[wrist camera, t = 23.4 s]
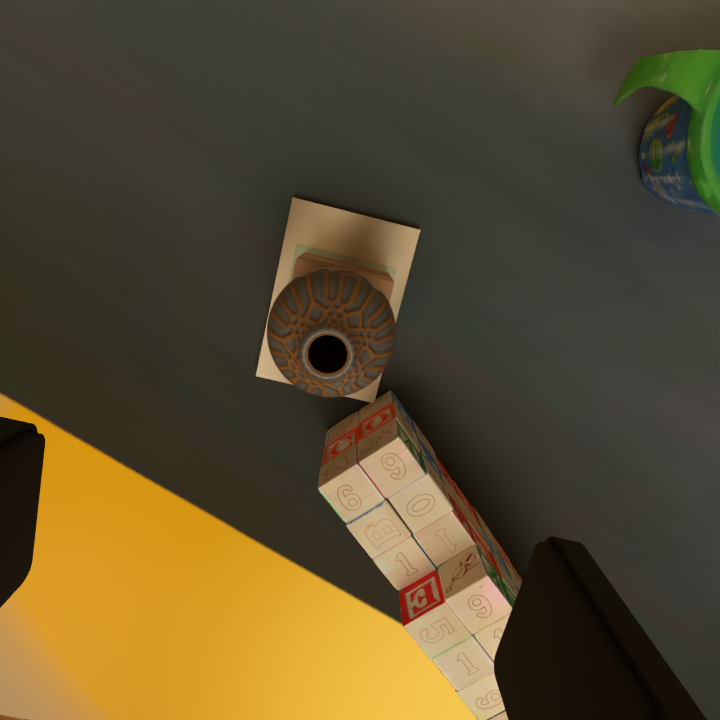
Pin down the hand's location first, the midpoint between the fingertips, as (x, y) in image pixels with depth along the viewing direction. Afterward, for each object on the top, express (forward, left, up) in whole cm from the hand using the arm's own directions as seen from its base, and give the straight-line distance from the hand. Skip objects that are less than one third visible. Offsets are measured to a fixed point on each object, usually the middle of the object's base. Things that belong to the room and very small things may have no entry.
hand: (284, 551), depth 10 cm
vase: (0, 0, -24) cm, 24 cm away
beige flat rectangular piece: (0, 0, -30) cm, 30 cm away
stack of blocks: (-11, +15, -31) cm, 36 cm away
